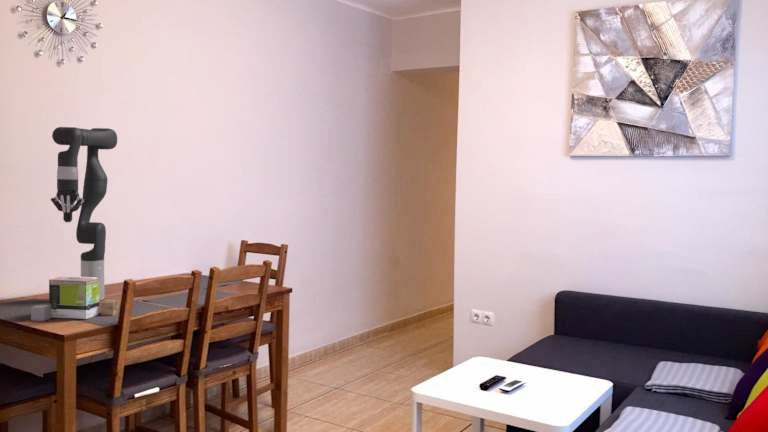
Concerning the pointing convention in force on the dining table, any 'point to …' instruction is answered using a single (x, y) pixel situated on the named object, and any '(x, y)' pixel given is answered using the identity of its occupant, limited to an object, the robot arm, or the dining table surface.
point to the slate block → (41, 312)
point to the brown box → (109, 307)
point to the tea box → (74, 297)
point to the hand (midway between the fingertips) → (67, 222)
